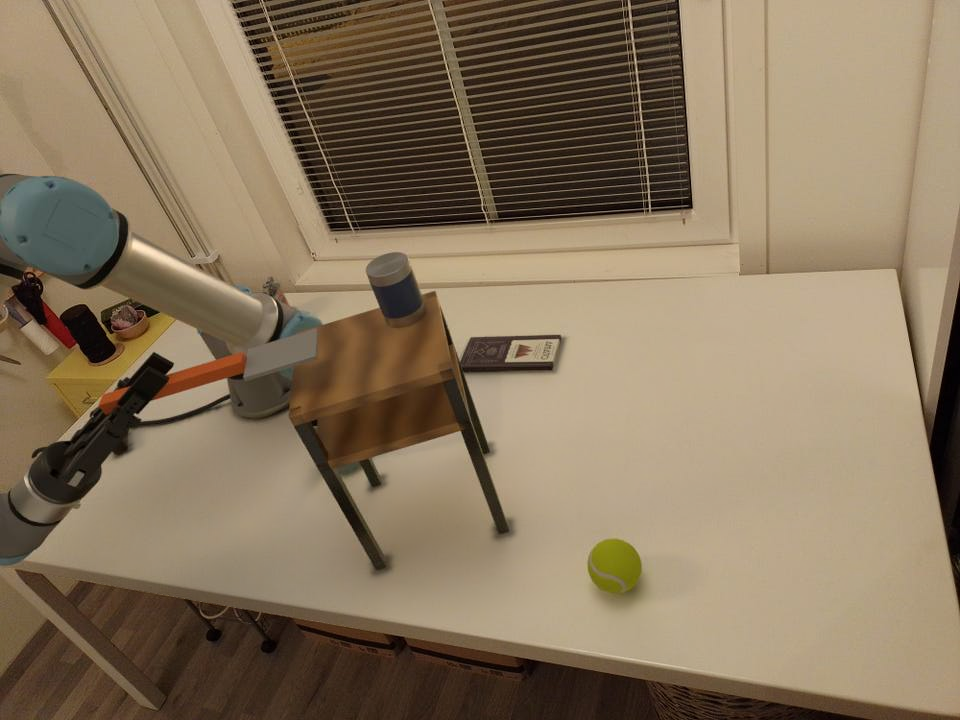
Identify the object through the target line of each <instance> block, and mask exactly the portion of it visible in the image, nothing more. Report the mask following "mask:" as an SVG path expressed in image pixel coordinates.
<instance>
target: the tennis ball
mask: <svg viewBox="0 0 960 720" xmlns="http://www.w3.org/2000/svg"><path fill="white" fill-rule="evenodd" d="M642 570H643V567H642V560H641V557H640V554H639V552H638V551H637V550H636V548H635V547H634V546H633V545H631V543H629V542H627V541H625V540H623V539H620V538H606V539H604V540H601V541H599V542H597V544H596V545H595V546H593V548H592V549H591V550H590V552H589V555H588V558H587V572H588V576H589V577H590V579H591V580H592V582H593V583H594V585H595V586H596V587H597V588H598V589H600V590H601V591H603V592H605V593H608V594H623V593H627V592H628V591H630V590H632V589H633V588H634V587H635V586H637V584H638V582H639V580H640V578H641V575H642Z"/></svg>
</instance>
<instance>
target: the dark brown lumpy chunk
mask: <svg viewBox="0 0 960 720" xmlns="http://www.w3.org/2000/svg"><path fill="white" fill-rule="evenodd" d="M128 434H129V433H128ZM128 434H127V436H125V437H124V438H123V440H122V441H121V442H120V443H119V444H118V446H117V447H116V448H115V449H114V450H113V451H112V454H113V455H115V456H119V455H122V454H124V453H126V452H128V450H129V437H128V436H129V435H128Z"/></svg>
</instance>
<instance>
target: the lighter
mask: <svg viewBox="0 0 960 720" xmlns="http://www.w3.org/2000/svg"><path fill="white" fill-rule="evenodd" d="M261 293H264V294H267V295H269V296H271V297H273V298H274V299H276V300H278V301H280V302H282V303H284V304H285V305H287V306H289V307H291V308H293V307H292V306H290V303H289V301H288V299H287V297H286V295H285V293H284V291H283V289H282V286H281V283H279V282H275V279H274V277H273V276H268V277H267V279H266V281H265V283H264V284H262V291H261Z"/></svg>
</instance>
